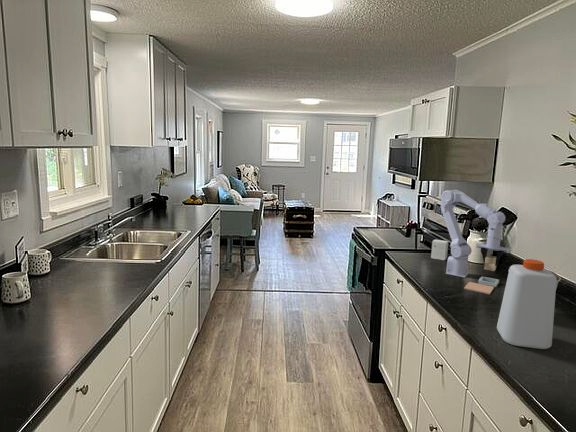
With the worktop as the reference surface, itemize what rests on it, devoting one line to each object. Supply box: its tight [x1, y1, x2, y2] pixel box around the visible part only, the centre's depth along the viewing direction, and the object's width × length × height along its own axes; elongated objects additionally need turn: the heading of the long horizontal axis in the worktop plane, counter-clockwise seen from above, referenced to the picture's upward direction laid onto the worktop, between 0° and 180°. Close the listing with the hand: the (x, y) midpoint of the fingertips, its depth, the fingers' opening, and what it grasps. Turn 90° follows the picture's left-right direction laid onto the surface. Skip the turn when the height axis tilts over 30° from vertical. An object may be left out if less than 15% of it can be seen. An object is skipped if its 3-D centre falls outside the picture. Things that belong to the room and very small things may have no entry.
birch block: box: [483, 254, 497, 272], centre depth 202 cm, size 4×4×6 cm
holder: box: [477, 276, 500, 288], centre depth 204 cm, size 8×8×2 cm
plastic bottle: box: [496, 258, 557, 350], centre depth 143 cm, size 15×15×28 cm
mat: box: [463, 281, 495, 295], centre depth 195 cm, size 11×11×1 cm
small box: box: [430, 239, 449, 261], centre depth 244 cm, size 8×6×10 cm
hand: (490, 264), depth 202 cm, fingers closed on birch block, 4 cm apart
